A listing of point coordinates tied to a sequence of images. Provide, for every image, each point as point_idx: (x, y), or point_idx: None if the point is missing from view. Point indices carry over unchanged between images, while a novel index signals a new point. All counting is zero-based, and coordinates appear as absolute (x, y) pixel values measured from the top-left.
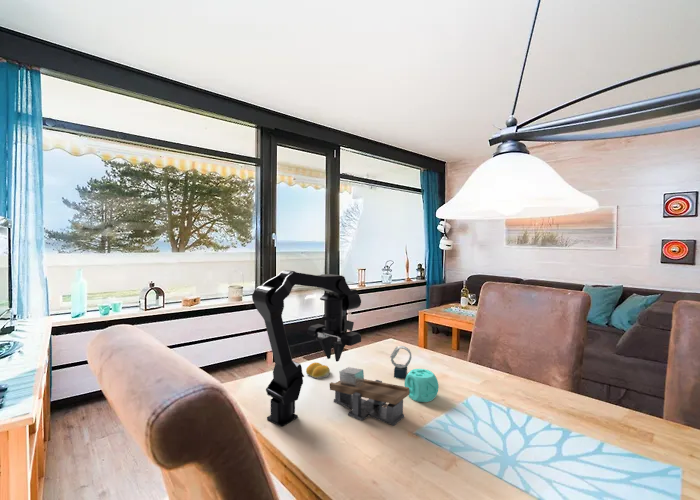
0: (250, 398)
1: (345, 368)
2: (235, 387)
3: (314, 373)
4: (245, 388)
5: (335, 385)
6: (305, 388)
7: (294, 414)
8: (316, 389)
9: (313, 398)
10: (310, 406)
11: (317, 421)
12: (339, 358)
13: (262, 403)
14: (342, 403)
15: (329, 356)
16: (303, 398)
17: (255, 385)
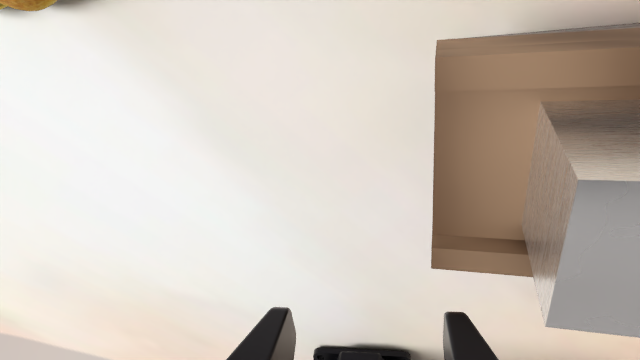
0: (137, 349)
1: (566, 236)
2: (10, 330)
3: (20, 6)
4: (35, 317)
5: (501, 269)
6: (176, 157)
7: (388, 358)
8: (229, 121)
9: (316, 209)
10: (374, 269)
11: (503, 330)
12: (484, 347)
13: (204, 350)
14: None
15: (287, 350)
16: (278, 238)
17: (20, 282)
